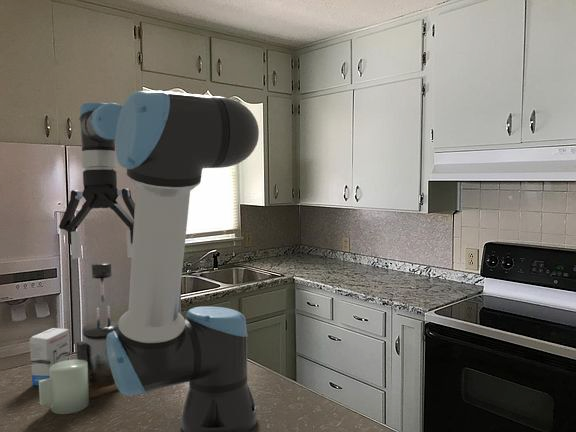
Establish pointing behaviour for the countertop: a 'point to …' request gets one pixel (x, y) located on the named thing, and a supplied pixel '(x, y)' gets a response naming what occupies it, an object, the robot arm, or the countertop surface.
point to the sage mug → (66, 387)
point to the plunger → (101, 274)
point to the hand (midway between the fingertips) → (103, 257)
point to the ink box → (48, 352)
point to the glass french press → (97, 355)
